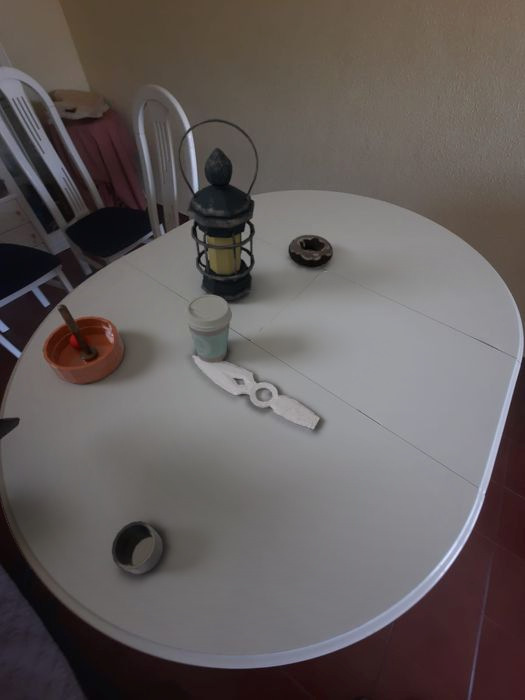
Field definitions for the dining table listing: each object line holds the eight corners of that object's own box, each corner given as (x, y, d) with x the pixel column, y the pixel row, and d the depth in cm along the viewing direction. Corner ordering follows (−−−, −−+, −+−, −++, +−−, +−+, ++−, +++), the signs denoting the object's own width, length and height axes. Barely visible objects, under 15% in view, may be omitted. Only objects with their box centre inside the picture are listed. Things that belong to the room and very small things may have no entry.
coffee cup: (186, 343, 70) (178, 297, 62) (226, 334, 73) (223, 288, 64) (196, 373, 65) (189, 328, 56) (238, 362, 67) (237, 317, 59)
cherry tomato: (81, 352, 69) (68, 350, 66) (76, 339, 70) (63, 336, 66) (93, 345, 68) (81, 342, 65) (88, 331, 69) (76, 328, 66)
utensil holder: (127, 582, 44) (117, 578, 41) (118, 541, 47) (107, 534, 44) (167, 560, 46) (161, 554, 43) (156, 521, 49) (148, 513, 46)
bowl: (60, 395, 62) (47, 380, 58) (51, 346, 69) (39, 329, 65) (132, 369, 66) (125, 353, 62) (116, 325, 73) (109, 308, 70)
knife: (308, 438, 58) (309, 436, 57) (181, 366, 67) (181, 364, 66) (323, 411, 61) (324, 409, 60) (200, 346, 70) (200, 344, 69)
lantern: (192, 305, 78) (161, 134, 51) (202, 270, 86) (180, 106, 59) (254, 309, 78) (255, 138, 51) (258, 273, 86) (261, 110, 59)
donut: (330, 246, 94) (333, 233, 91) (331, 272, 87) (334, 259, 84) (289, 243, 95) (290, 230, 92) (286, 268, 87) (287, 255, 84)
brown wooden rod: (96, 361, 66) (67, 311, 56) (79, 362, 66) (47, 312, 56) (100, 348, 68) (73, 298, 58) (83, 349, 68) (53, 299, 58)
